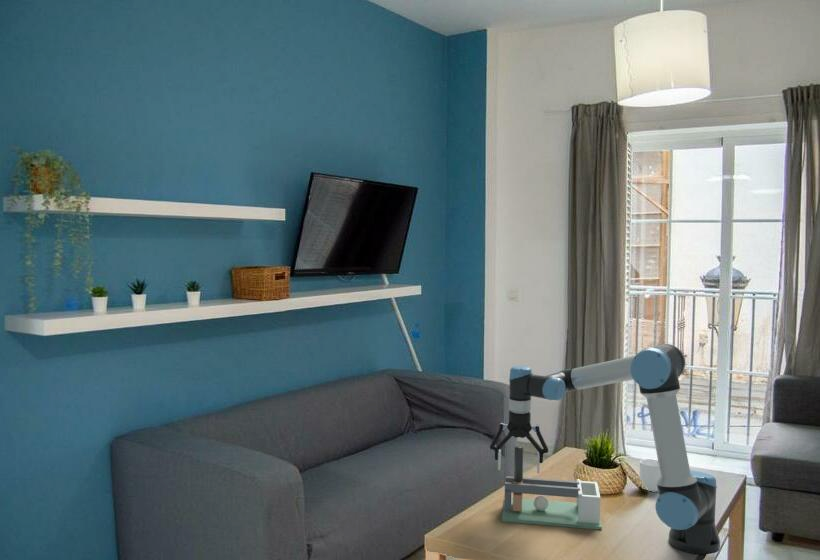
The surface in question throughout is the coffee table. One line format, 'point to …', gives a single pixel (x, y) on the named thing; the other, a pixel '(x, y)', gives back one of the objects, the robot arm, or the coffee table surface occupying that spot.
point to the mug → (650, 473)
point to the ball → (540, 503)
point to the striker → (518, 477)
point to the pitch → (555, 503)
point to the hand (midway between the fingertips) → (518, 470)
